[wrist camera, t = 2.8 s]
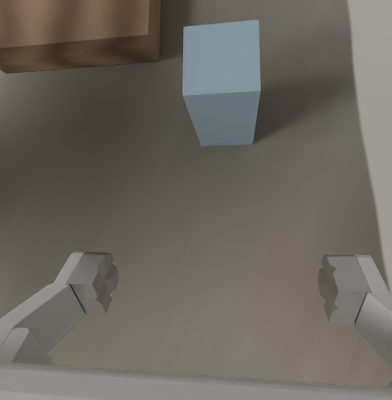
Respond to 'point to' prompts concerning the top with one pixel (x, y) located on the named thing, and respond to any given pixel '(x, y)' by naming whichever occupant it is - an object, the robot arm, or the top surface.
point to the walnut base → (77, 33)
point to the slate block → (222, 81)
